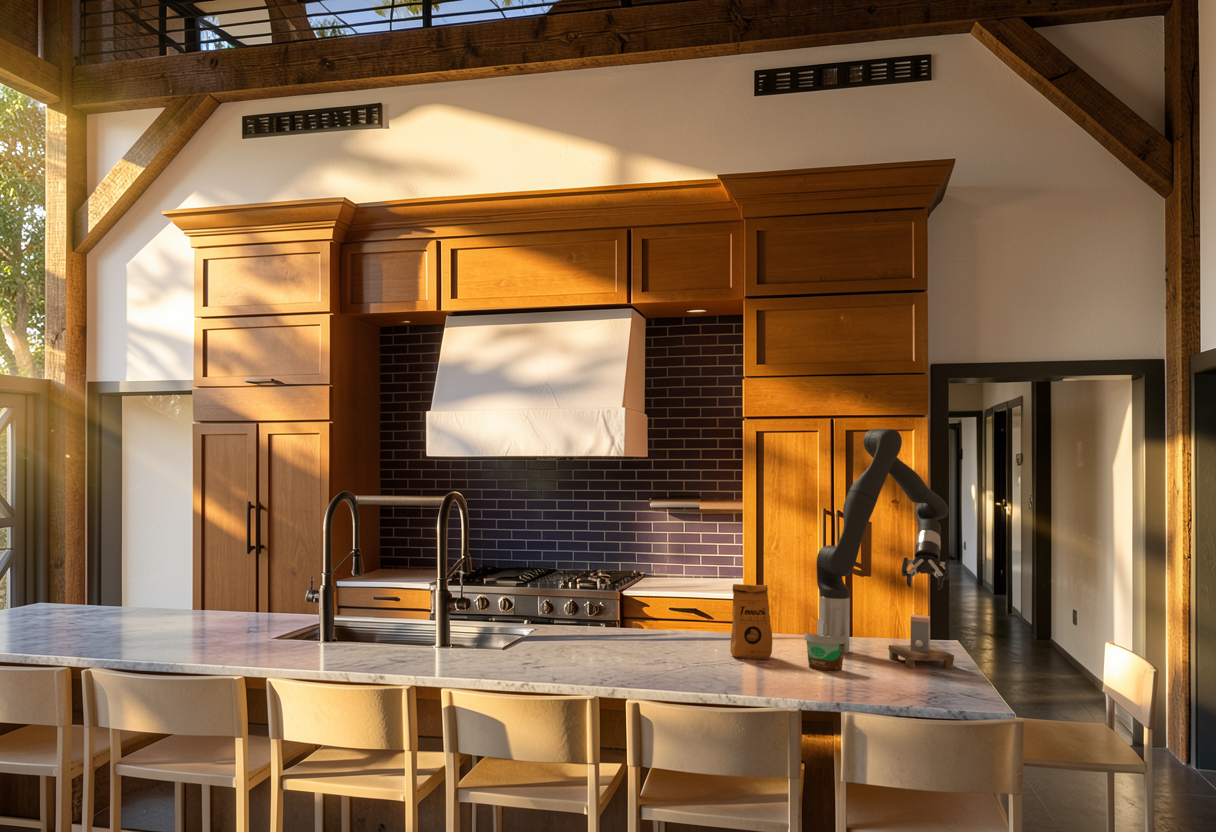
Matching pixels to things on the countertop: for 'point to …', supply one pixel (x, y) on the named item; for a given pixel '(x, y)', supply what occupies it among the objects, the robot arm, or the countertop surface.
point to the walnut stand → (920, 655)
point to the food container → (825, 652)
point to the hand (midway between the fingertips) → (924, 586)
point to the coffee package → (751, 622)
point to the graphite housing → (920, 633)
